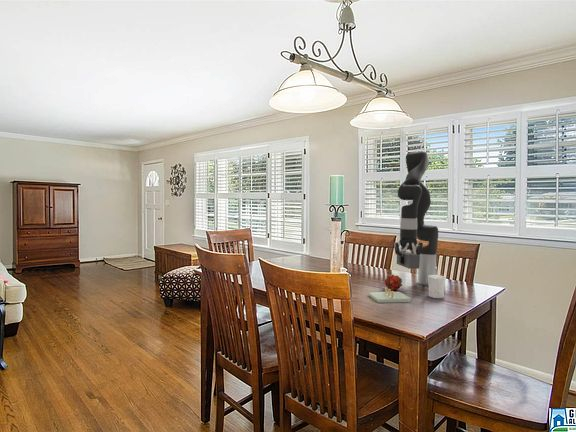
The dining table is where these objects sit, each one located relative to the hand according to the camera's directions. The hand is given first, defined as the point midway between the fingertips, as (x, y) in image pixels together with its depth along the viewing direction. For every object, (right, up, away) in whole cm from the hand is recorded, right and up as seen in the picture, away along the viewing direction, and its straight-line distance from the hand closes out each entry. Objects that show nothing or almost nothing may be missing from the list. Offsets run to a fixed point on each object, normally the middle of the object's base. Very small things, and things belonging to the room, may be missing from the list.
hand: (407, 264), depth 169 cm
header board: (-7, -17, +5) cm, 19 cm away
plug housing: (0, -1, 0) cm, 1 cm away
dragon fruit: (-1, -17, +21) cm, 26 cm away
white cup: (+17, -17, +9) cm, 26 cm away
